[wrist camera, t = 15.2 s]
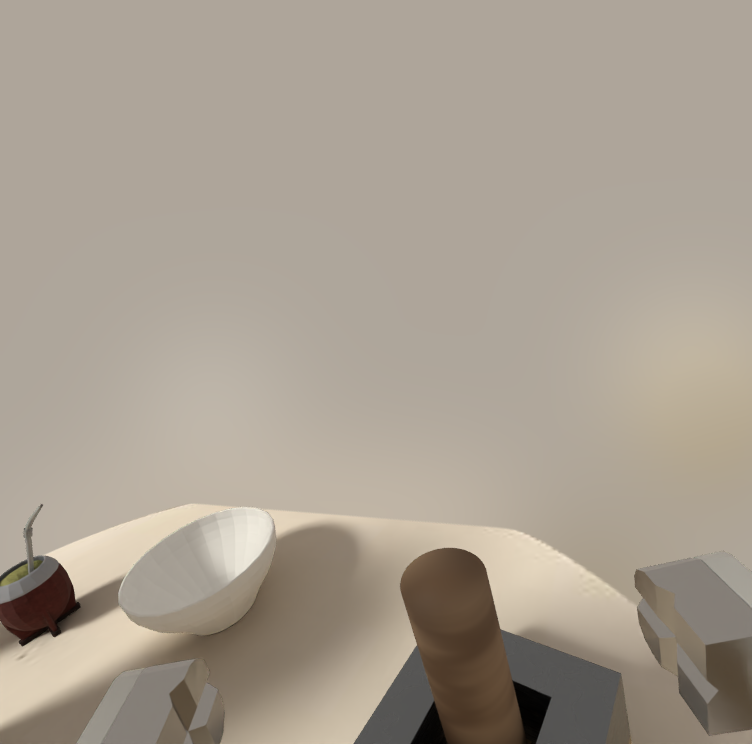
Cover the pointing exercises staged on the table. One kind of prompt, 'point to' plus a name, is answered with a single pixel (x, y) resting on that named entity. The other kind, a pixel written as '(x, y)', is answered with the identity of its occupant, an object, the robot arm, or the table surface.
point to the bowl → (201, 573)
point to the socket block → (534, 696)
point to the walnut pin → (462, 647)
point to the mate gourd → (35, 594)
